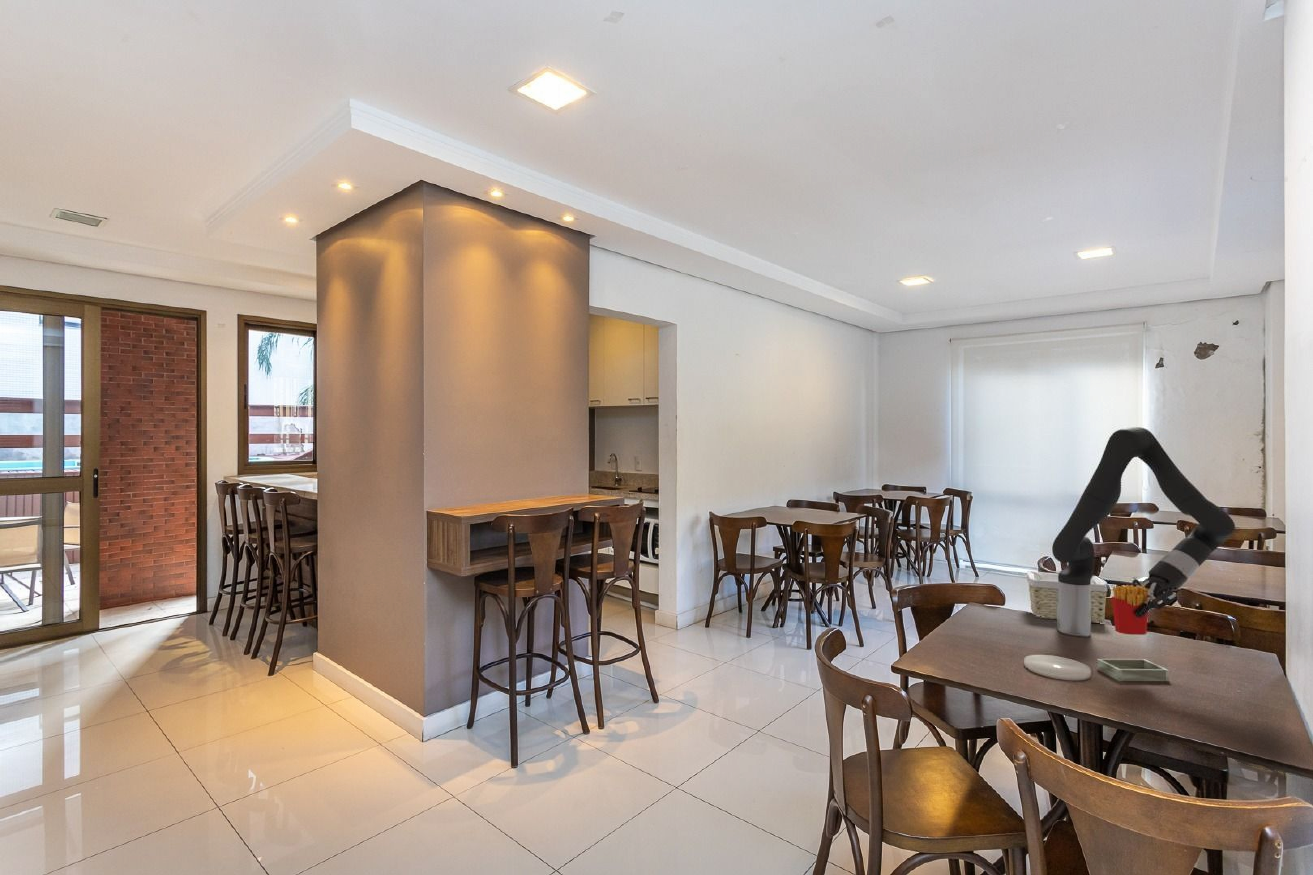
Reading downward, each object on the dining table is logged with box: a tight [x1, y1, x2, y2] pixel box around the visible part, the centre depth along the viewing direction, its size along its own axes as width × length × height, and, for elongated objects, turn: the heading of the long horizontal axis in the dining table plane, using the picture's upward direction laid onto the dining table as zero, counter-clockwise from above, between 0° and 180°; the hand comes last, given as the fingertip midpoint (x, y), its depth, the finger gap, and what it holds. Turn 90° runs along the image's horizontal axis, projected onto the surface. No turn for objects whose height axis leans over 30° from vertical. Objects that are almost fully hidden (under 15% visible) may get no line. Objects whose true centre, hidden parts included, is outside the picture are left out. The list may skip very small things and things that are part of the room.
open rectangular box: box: [1096, 658, 1170, 682], centre depth 173 cm, size 9×14×3 cm, turn 89°
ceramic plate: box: [1023, 654, 1092, 681], centre depth 177 cm, size 16×16×2 cm
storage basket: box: [1026, 570, 1108, 624], centre depth 231 cm, size 24×16×15 cm
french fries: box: [1111, 584, 1150, 636], centre depth 173 cm, size 9×4×13 cm, turn 82°
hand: (1130, 612), depth 173 cm, fingers closed on french fries, 4 cm apart
